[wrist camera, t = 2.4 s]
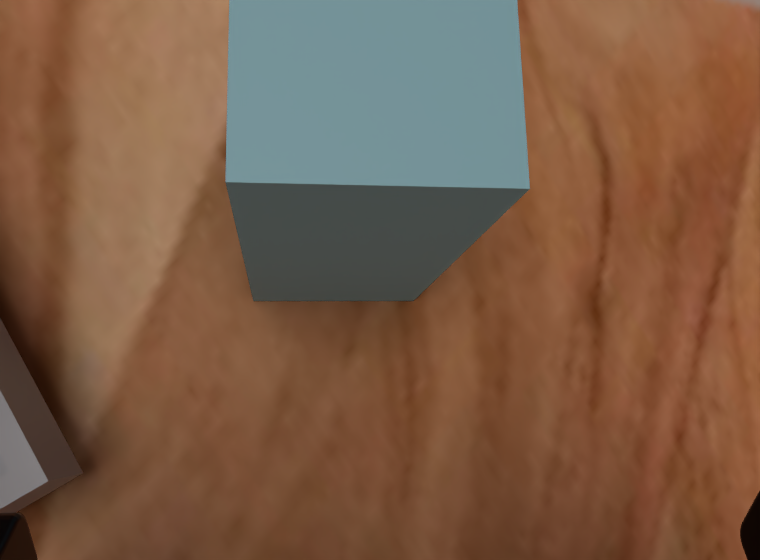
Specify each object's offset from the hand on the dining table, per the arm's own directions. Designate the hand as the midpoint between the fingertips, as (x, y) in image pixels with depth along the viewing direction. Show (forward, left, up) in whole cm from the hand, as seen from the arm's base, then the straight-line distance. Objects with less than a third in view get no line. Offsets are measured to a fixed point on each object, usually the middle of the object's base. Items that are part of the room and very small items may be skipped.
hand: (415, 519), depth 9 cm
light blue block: (+4, -6, -13) cm, 15 cm away
